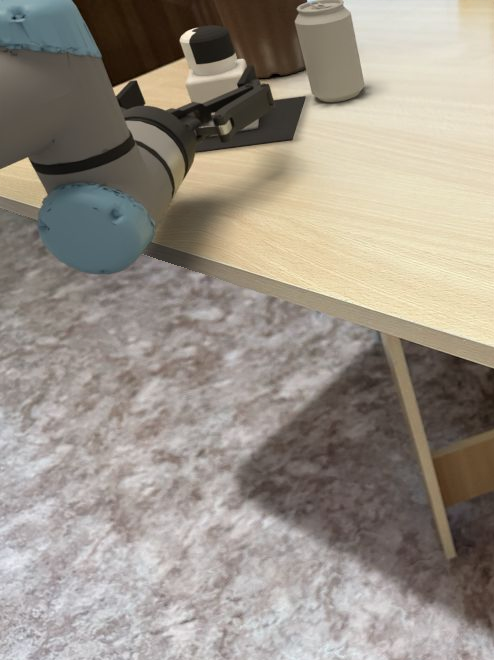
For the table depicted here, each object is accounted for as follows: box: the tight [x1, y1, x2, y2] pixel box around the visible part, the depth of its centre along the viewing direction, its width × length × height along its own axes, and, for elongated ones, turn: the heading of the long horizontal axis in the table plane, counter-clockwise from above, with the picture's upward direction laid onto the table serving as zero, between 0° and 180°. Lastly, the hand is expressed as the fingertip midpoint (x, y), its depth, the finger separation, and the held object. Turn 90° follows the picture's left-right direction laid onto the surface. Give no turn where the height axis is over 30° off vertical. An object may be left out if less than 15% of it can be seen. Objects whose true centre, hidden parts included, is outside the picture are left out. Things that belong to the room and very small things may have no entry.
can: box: [295, 0, 365, 103], centre depth 94 cm, size 8×8×12 cm
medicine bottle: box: [179, 24, 259, 137], centre depth 89 cm, size 7×7×12 cm
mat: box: [189, 95, 306, 153], centre depth 92 cm, size 18×16×1 cm
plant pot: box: [213, 0, 308, 79], centre depth 107 cm, size 16×16×16 cm
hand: (195, 84), depth 81 cm, fingers open, 13 cm apart
